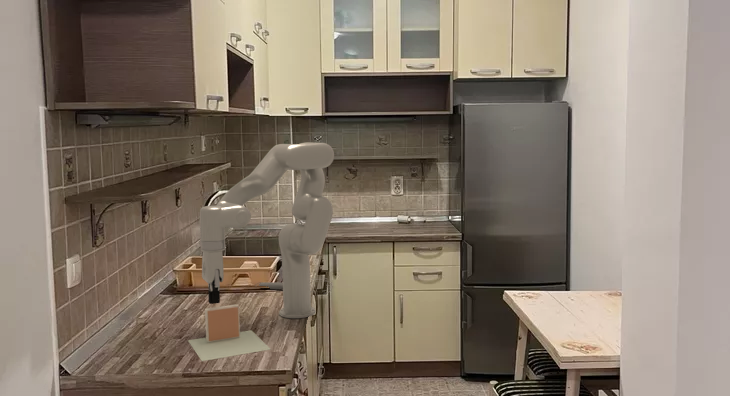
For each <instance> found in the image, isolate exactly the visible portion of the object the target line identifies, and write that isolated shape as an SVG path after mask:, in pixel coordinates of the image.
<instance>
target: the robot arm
mask: <svg viewBox="0 0 730 396" xmlns="http://www.w3.org/2000/svg"><path fill="white" fill-rule="evenodd" d="M334 160H335V151H334V149H333V147H332V146H331V145H330V144H328V143H326V142H311V141H310V142H307V141H306V142H301V143H299V144H297V143H294V144H293V143H280V144H276V145H274V146H273V147H272V148H271V149H270V150H269V151H268V152H267V153H266V154H265V155H264V157H263V158H262V159H261V161H260V162H259V163H258V164H257V166H256V167H255V168H254V169H253V170H252V172H250V174H249V175H247V176H245V177H244V178H242V179H241V180H240V181H239V182H237V183H236V184H235V185H233V186H232V187H231V188H230V189H229V190H227V191H226V192H225V194H224V195H223V196H222V197H221V198H220V200H218V202H217V204H216V205H206V206H201V208H200V209H199V232H200V233H199V234H200V236H199V238H200V251H201V252H202V256H201V257H202V258H201V259H202V260H201V278H202V280H203V281H205V282H206V283H207V286H208V287H207V289H208V291H207V292H208V294H207V295H208V303H209V304H210V305H212V304H220V302H221V300H220V299H221V297H220V296H221V295H220V294H221V292H220V287H221V286H220V283H223V281H224V275H225V274H224V271H225V270H224V255H223V252H224V251H225V250H226V229H241V228H242V229H243V228H244V227H246V226H247V225H248V224H249V223H250V221H251V220H252V219H251V218H252V214H251V211H250V210H249V208H248V207H247V206H245V205H246V204H247V203H248V202H249V201H251V200H252V199H255V198H257V197H260V196H263V195H265V194H267V193H269V192H270V191H272V189H273V188H274V187H275V186H276V184H277V183H278V182H279V181H280V179H281V178H282V177H283V176H284V175H285V173H286V172H287V171H288V170H289V171H290V170H292V171H299V172H300V181H299V185H298V188H297V191H296V194H295V197H294V200H293V203H292V206H291V207H292V208H291V212H292V217H294V218H295V219H297V220H298V221H301V222H304V224H301V223H296V222H295V223H293V222H292V223H286V224H285V225H284V226H283V227H281V229H280V231H279V234H278V244H279V250H280V254H281V265H282V266H281V267H282V269H281V270H282V273H281V274H282V283H283V289H282V297H283V299H282V301H283V307H282V308H280V309H279V312H278V313H279V314H278V315H279V316H281V317H282V318H286V319H305V318H308V317H312V316H314V315H315V314H316V312H317V311H316V308H315V307H313V306H312V300H311V299H312V298H311V294H312V292H311V291H312V290H311V263H310V262H311V261H310V257H309V255H310V256H312V255H316V254H317V253H318V252H320V250H321V249H322V248H323V246H324V243H325V241H326V237H327V234H328V231H329V228H330V225H331V222H332V218H333V213H334V211H333V210H334V209H333V205H332V202H331V201H330V199H328V197H326V196H324V195H323V192H324V188H325V185H326V176H325V172H324V170H323V169H325V168H327V167H329V166H331V164H332V163H333V162H334Z"/></svg>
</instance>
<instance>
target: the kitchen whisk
mask: <svg viewBox="0 0 730 396" xmlns="http://www.w3.org/2000/svg"><path fill="white" fill-rule="evenodd" d="M314 280H316V281H314ZM317 280H318V281H317ZM324 280H325V282H327V283H330V285H329V284H327V287H329V288H328V289H325V290H323V292H324V295H327V294H328V293H330V292H331V290H332V289H333V287H334V283H333V282H332V281H331V280H330V279H328V278H326V277H324V278H316V277H314V278H312V281H313V283H315V282H317V283H318V282H319V281H324ZM257 285H258V287H259V286H266V287H267V286H268V287H269V288H270V289H269V290H283V282H274V281H273V282H267V281H266V282H257V283H255V286H257ZM328 290H329V291H328ZM325 291H326V292H325ZM311 293H313V290H311Z"/></svg>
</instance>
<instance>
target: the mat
mask: <svg viewBox="0 0 730 396" xmlns="http://www.w3.org/2000/svg"><path fill="white" fill-rule="evenodd" d="M187 342H188V343H189V345H190V346H191V348H192V349H193V351H194V352H195V353H196V355H197V356H198V358H199V359H200V361H201V362H206V361H211V360H216V359H217V360H218V359H224V358H228V357H235V356H240V355H246V354H251V353H252V354H253V353H257V352H263V351H268V350H271V348H270V346H269V345H267V344H266V342H264V341H263V340H262V339H261V337H259V336H258V335H257V334H256V333H255V332H254V331H253V330H251V329H250V330H244V331H240V337H238V338H232V339H226V340H219V341H213V342H207V341H206V337H200V338H195V339H189V340H188V339H187Z"/></svg>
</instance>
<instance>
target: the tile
mask: <svg viewBox="0 0 730 396" xmlns="http://www.w3.org/2000/svg"><path fill="white" fill-rule="evenodd" d="M204 317H205V338H206V341H207V342H213V341H219V340H226V339H232V338H238V337H240V332H241V326H240V306H239V304H238V303H237V304H229V305H222V306H214V307H208V308H204Z"/></svg>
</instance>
